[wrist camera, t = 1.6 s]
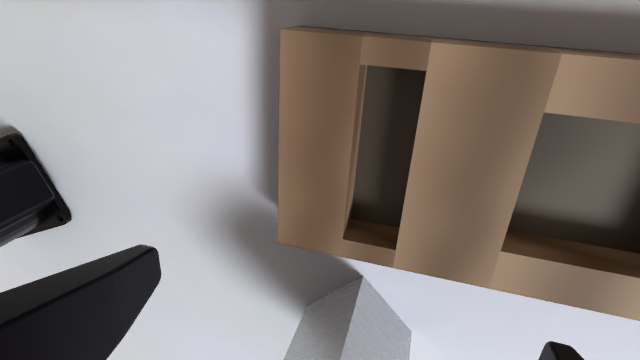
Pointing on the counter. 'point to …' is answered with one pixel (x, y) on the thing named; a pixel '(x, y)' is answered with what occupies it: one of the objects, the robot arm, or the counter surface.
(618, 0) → the counter surface
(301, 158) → the socket block
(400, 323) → the square bit
